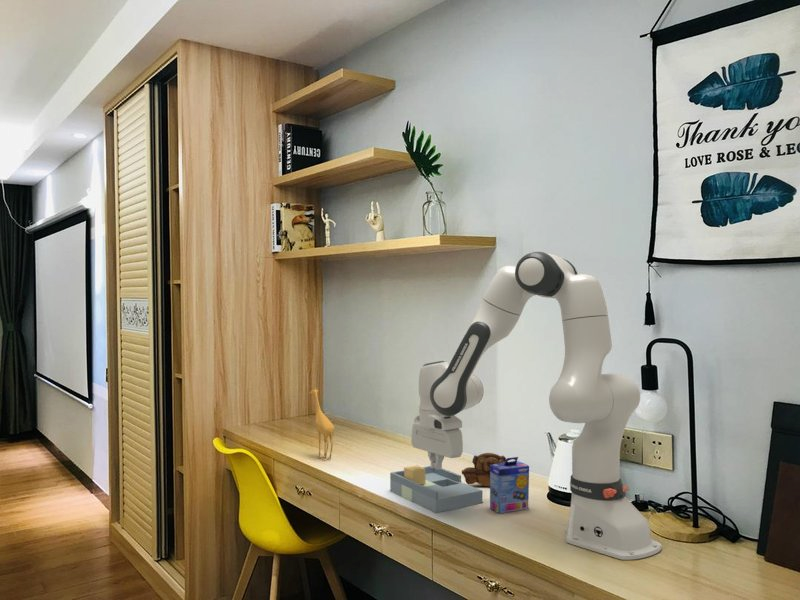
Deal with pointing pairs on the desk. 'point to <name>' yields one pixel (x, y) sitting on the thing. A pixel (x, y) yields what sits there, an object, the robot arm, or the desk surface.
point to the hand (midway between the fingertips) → (436, 468)
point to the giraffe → (323, 424)
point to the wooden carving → (482, 468)
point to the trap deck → (436, 490)
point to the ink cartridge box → (509, 486)
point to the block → (415, 474)
